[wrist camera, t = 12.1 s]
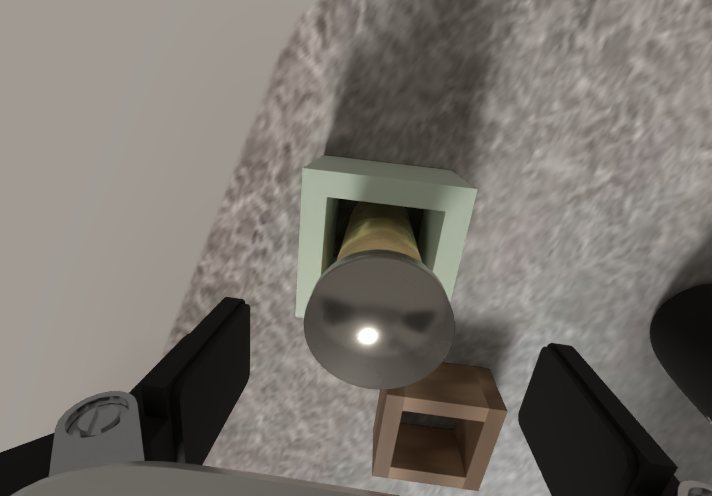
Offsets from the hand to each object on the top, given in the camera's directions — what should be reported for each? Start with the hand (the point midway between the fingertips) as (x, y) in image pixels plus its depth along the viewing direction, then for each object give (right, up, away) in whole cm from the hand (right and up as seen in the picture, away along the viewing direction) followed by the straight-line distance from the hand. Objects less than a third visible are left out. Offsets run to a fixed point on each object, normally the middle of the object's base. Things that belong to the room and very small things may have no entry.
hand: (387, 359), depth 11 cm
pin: (+1, +5, +12) cm, 13 cm away
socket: (+1, +5, +12) cm, 13 cm away
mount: (+5, -9, +17) cm, 20 cm away
